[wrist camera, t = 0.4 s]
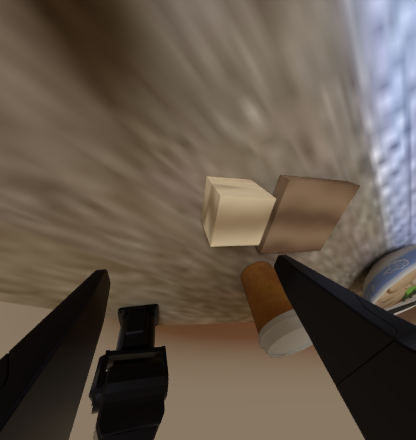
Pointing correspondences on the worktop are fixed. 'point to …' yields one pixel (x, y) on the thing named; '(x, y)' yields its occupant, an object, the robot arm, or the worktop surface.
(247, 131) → the worktop surface
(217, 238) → the maple cube
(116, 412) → the robot arm
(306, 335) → the disposable coffee cup
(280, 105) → the worktop surface
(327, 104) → the worktop surface
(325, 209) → the walnut board
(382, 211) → the worktop surface
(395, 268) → the ramen bowl
